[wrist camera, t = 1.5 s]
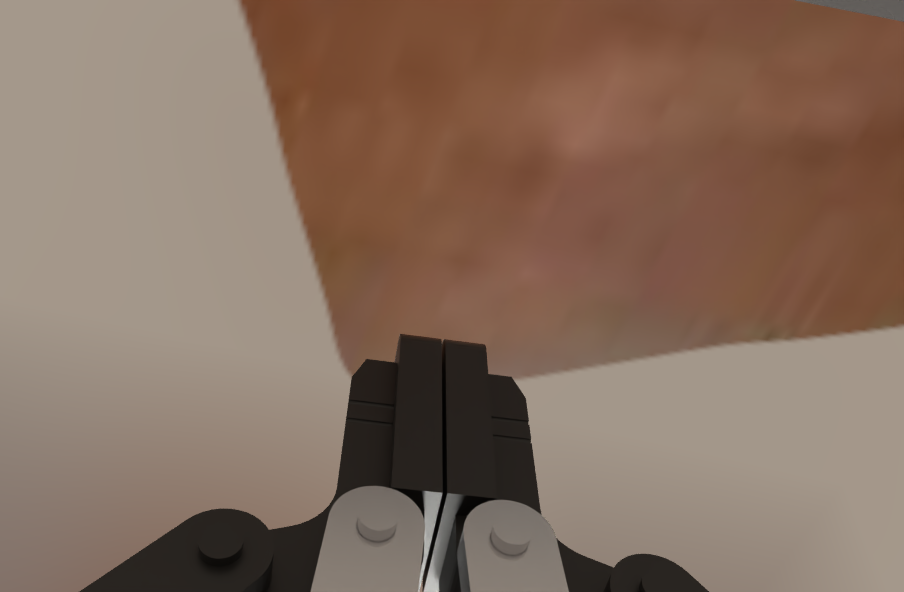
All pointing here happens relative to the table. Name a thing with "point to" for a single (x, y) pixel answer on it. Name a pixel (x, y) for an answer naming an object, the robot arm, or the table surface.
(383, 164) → the table surface
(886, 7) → the shaft housing
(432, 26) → the table surface
